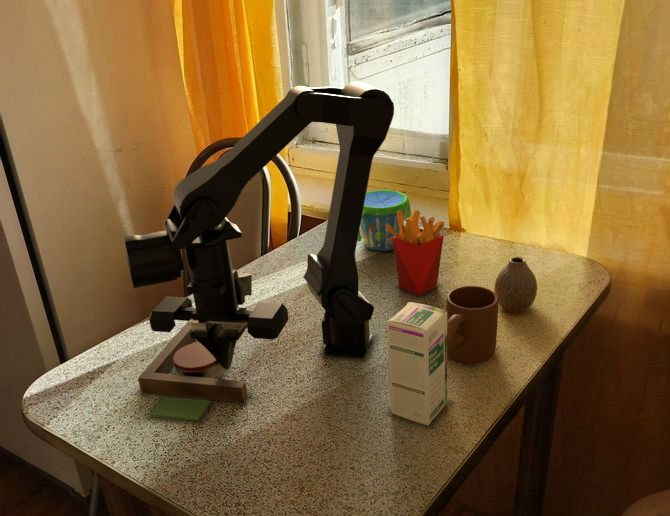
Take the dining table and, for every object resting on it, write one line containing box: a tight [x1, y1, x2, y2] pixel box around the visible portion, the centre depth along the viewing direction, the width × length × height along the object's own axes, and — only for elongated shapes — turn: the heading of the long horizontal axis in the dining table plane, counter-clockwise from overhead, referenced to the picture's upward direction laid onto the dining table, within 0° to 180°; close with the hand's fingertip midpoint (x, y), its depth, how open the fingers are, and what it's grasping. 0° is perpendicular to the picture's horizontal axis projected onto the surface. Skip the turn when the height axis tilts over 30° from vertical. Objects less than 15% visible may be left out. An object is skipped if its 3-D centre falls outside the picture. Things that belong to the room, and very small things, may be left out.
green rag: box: [150, 396, 211, 422], centre depth 92 cm, size 7×4×1 cm, turn 78°
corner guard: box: [137, 321, 248, 403], centre depth 101 cm, size 16×17×2 cm
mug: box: [445, 285, 499, 365], centre depth 98 cm, size 12×8×9 cm, turn 148°
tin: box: [173, 341, 226, 379], centre depth 99 cm, size 7×7×3 cm
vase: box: [493, 256, 538, 314], centre depth 111 cm, size 7×7×9 cm
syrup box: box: [386, 301, 448, 427], centre depth 86 cm, size 6×6×14 cm
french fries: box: [385, 209, 445, 296], centre depth 116 cm, size 9×8×15 cm
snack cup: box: [357, 189, 412, 252], centre depth 136 cm, size 16×10×10 cm
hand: (227, 367), depth 98 cm, fingers closed
